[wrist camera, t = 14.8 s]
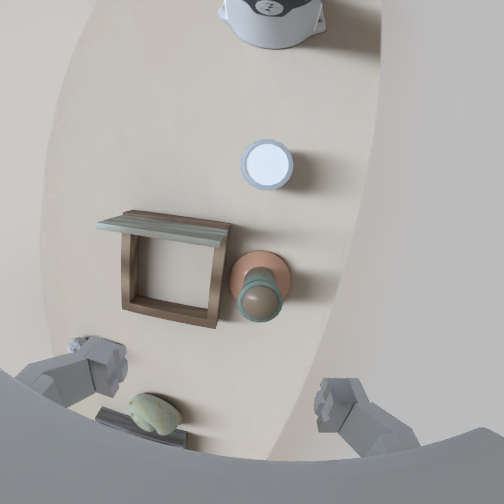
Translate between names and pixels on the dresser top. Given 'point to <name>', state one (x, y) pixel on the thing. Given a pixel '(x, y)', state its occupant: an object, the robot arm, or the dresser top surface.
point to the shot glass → (266, 164)
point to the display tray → (128, 425)
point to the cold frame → (173, 230)
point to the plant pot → (260, 295)
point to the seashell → (154, 414)
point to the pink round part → (259, 260)
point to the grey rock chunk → (75, 344)
